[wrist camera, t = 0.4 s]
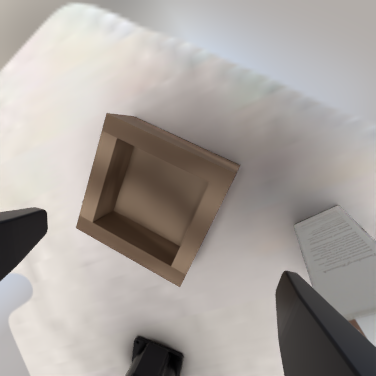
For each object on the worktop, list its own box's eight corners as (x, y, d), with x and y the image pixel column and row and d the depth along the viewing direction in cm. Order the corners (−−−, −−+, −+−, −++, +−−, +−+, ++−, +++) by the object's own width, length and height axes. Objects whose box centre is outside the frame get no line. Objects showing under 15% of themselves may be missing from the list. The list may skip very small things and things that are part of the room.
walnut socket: (192, 260, 25) (179, 287, 21) (104, 212, 27) (75, 227, 23) (240, 165, 21) (236, 173, 17) (133, 116, 23) (106, 113, 19)
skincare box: (373, 259, 20) (526, 426, 9) (322, 278, 22) (395, 439, 10) (336, 200, 20) (445, 293, 8) (287, 223, 21) (323, 328, 10)
